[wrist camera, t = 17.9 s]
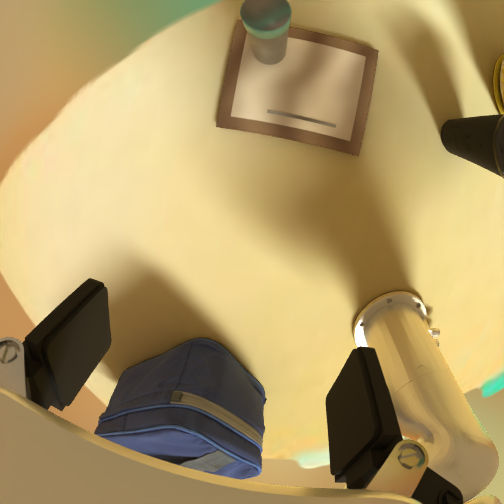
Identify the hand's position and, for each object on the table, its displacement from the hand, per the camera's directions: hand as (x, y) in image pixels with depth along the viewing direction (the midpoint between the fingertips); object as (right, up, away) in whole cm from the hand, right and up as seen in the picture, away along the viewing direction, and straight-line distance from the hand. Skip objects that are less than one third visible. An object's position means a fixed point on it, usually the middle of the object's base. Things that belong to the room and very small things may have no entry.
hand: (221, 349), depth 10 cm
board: (+7, +23, +20) cm, 31 cm away
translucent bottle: (+3, +26, +18) cm, 32 cm away
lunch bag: (-11, -23, +42) cm, 49 cm away
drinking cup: (+28, +19, +20) cm, 40 cm away
